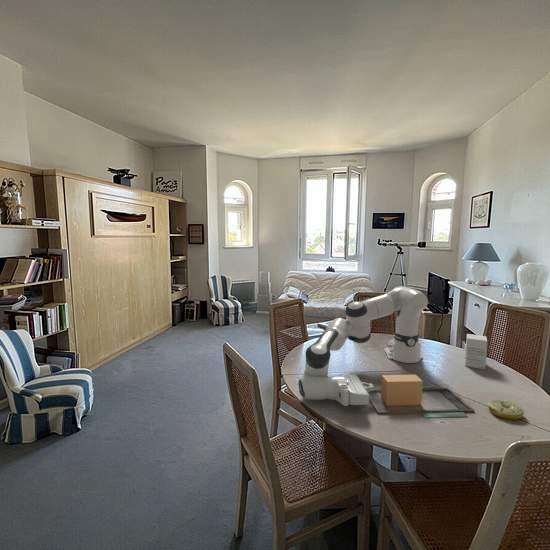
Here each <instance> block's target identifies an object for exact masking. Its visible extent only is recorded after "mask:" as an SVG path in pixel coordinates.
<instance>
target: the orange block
mask: <svg viewBox="0 0 550 550" xmlns="http://www.w3.org/2000/svg"><path fill="white" fill-rule="evenodd" d="M422 386H423V380H422V379H421V378H420V377H419V376H418V375H416V374H383V375H382V374H381V388H380V389H381V392H380V393H381V394H380V398H381V400H382V401H383V403H384V404H385V406H386V407H388V406H422V400H423V398H422V397H423V391H422Z"/></svg>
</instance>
